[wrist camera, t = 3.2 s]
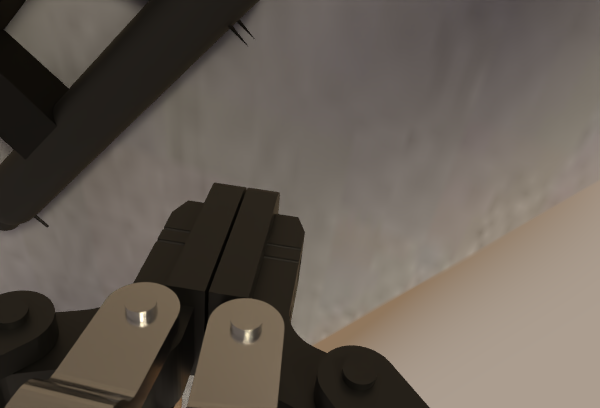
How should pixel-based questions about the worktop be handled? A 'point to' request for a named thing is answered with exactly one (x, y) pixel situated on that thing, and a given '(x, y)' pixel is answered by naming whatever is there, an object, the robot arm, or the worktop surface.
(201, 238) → the robot arm
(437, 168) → the worktop surface
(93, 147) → the door handle
